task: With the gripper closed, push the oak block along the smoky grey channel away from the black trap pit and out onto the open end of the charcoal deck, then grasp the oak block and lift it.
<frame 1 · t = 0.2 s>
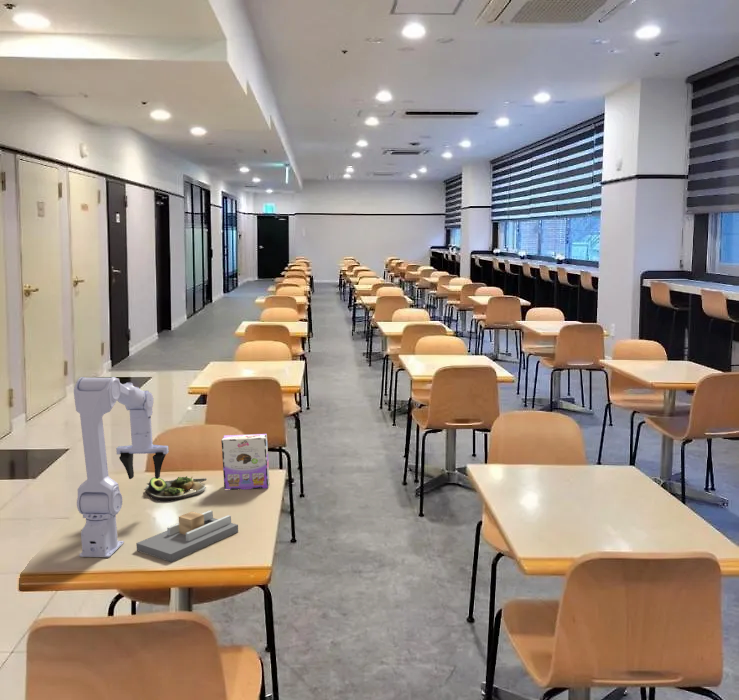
hand: (144, 477, 228), 10 cm above the table, tool pointing down, fingers open, 7 cm apart
block: (192, 532, 208), point 2 cm above the table, touching rail jig base
salad plate: (173, 493, 247), on the table
cake mix box: (247, 487, 250), on the table
rail jig base: (188, 540, 207), on the table
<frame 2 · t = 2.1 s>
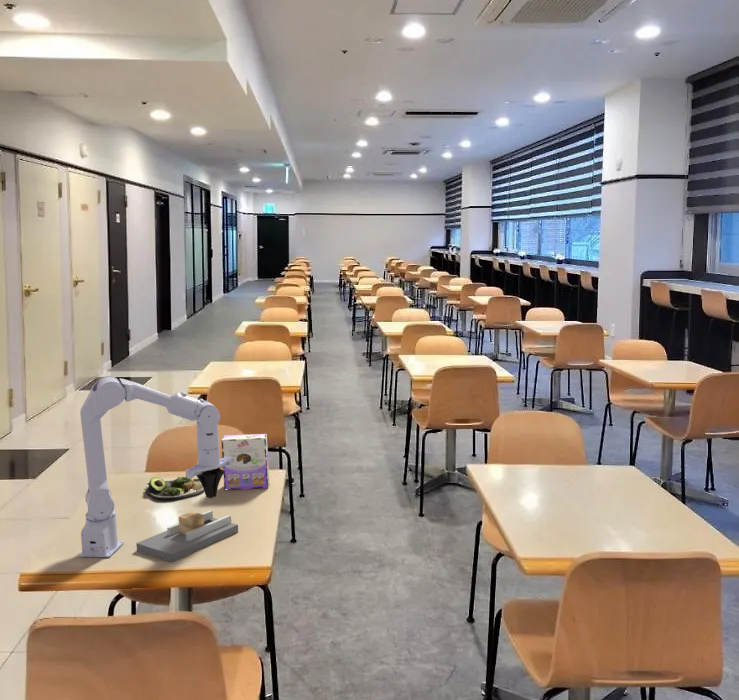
hand: (211, 497, 213), 9 cm above the table, tool pointing down, fingers closed
nothing on the table moved.
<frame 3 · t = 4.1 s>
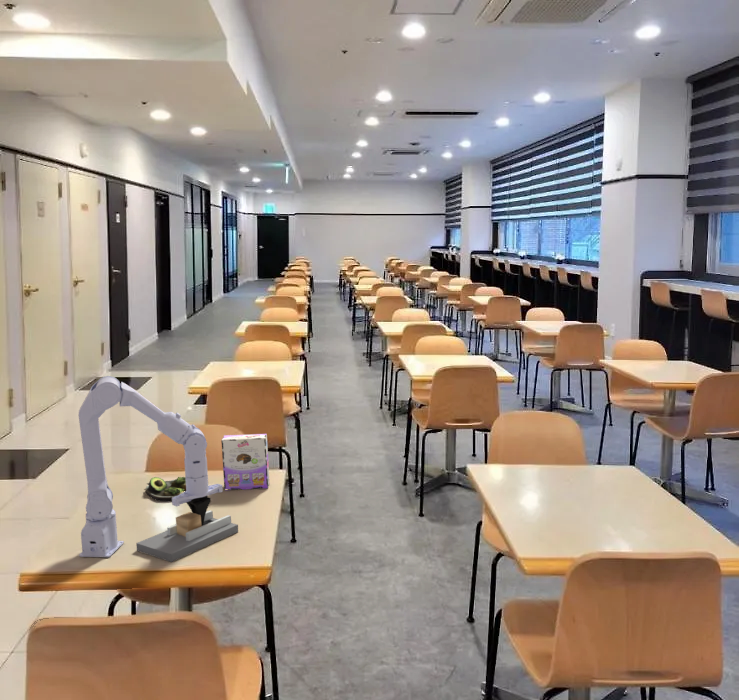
hand: (199, 524, 210), 3 cm above the table, tool pointing down, fingers closed
block: (189, 532, 207), point 2 cm above the table, touching gripper, rail jig base
everything else where it was.
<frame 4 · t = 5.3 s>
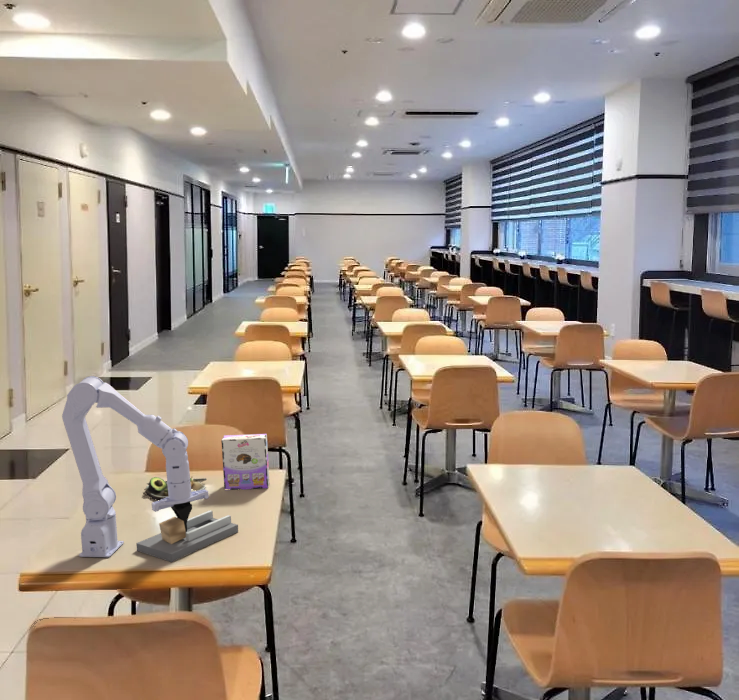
hand: (183, 531, 205), 3 cm above the table, tool pointing down, fingers closed, pressing on block
block: (174, 538, 203), point 2 cm above the table, tilted 8°, touching gripper, rail jig base
everything else where it was.
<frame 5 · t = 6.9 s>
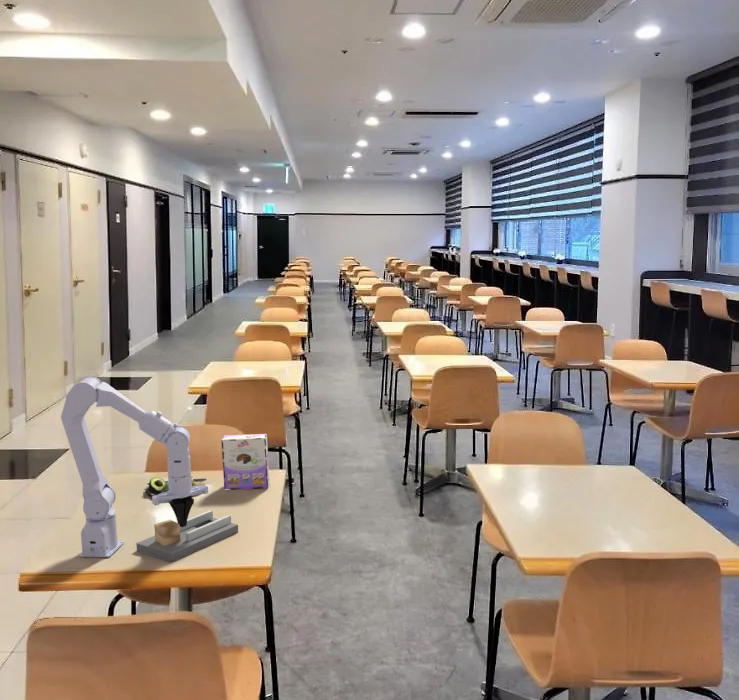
hand: (182, 525, 205), 5 cm above the table, tool pointing down, fingers closed
block: (167, 541, 202), point 2 cm above the table, touching rail jig base
everything else where it was.
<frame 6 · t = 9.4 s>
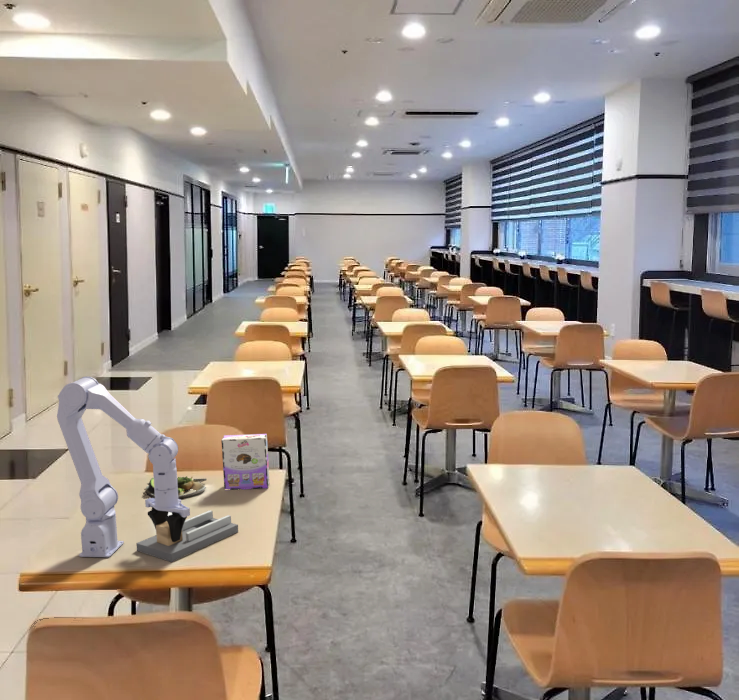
hand: (169, 538, 202), 3 cm above the table, tool pointing down, fingers closed on block, 5 cm apart
block: (169, 541, 202), point 2 cm above the table, touching gripper
everything else where it was.
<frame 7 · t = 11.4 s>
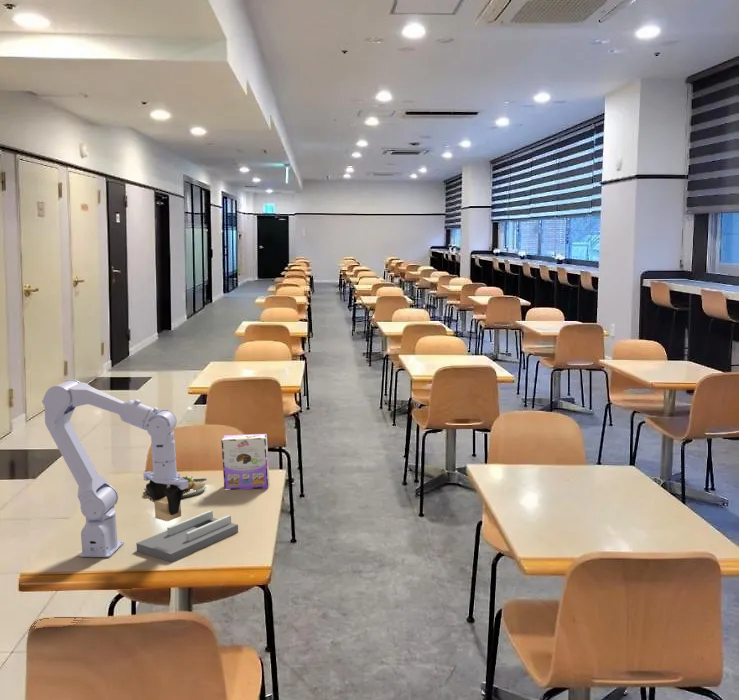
hand: (167, 511, 201), 10 cm above the table, tool pointing down, fingers closed on block, 4 cm apart
block: (168, 517, 201), point 8 cm above the table, touching gripper
everything else where it was.
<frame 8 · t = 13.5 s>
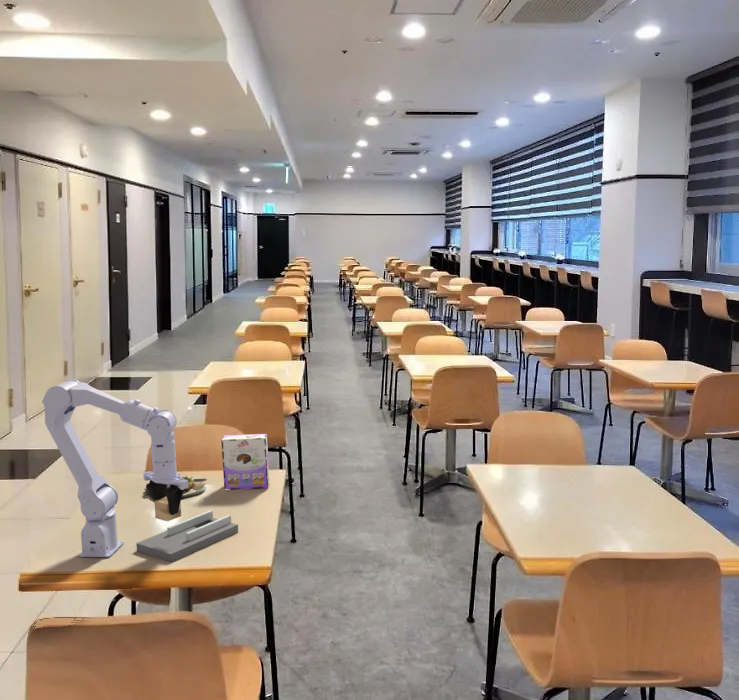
hand: (167, 511, 201), 10 cm above the table, tool pointing down, fingers closed on block, 4 cm apart
block: (168, 517, 201), point 8 cm above the table, touching gripper
everything else where it was.
at the end: the gripper is holding block; block 0.5 cm from the target spot on the rail jig base, point 8.4 cm above the rail jig base's base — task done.
